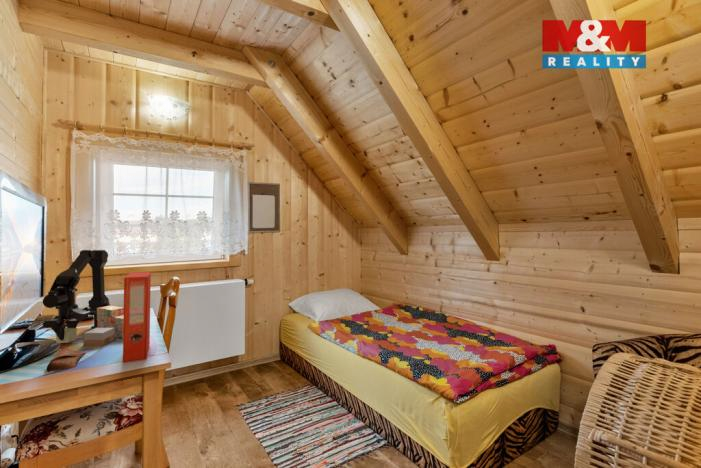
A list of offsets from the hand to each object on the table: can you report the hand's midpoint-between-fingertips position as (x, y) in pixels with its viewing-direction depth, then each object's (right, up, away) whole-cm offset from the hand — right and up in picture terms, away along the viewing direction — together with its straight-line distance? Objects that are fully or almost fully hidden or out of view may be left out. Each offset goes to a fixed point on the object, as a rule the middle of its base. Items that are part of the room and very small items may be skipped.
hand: (66, 338), depth 153 cm
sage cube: (0, -1, 0) cm, 1 cm away
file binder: (+39, -3, -13) cm, 41 cm away
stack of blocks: (+12, -2, +14) cm, 19 cm away
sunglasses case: (+18, -3, -22) cm, 29 cm away
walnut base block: (+14, -3, 0) cm, 14 cm away
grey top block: (+14, 0, 0) cm, 14 cm away
